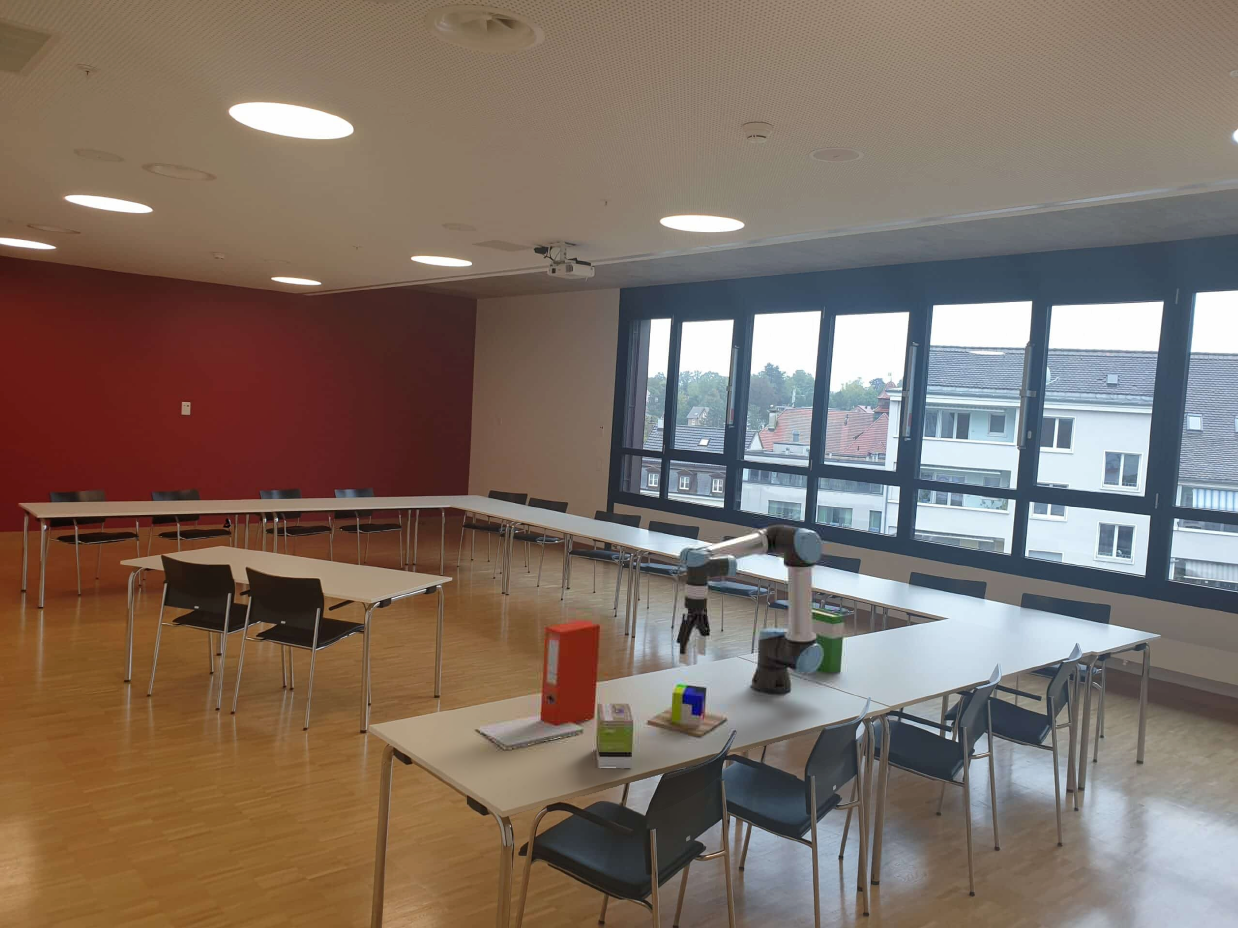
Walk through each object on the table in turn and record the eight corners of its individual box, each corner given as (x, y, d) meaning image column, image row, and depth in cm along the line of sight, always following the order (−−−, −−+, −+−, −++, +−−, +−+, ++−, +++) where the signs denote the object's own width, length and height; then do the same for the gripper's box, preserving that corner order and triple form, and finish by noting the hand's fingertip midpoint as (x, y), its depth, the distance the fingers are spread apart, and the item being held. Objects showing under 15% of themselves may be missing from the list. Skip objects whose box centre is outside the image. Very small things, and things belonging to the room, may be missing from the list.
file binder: (594, 718, 296) (600, 624, 294) (556, 729, 284) (561, 632, 282) (578, 711, 302) (583, 619, 300) (540, 722, 290) (545, 626, 288)
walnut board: (675, 707, 311) (675, 704, 311) (727, 720, 301) (727, 717, 301) (647, 722, 294) (647, 720, 294) (701, 737, 284) (701, 734, 284)
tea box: (594, 748, 270) (597, 701, 269) (627, 749, 270) (629, 702, 270) (597, 769, 255) (600, 719, 254) (632, 769, 255) (634, 719, 255)
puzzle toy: (700, 725, 292) (702, 696, 291) (670, 721, 294) (672, 692, 293) (704, 715, 301) (706, 687, 301) (675, 712, 304) (677, 683, 303)
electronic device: (506, 751, 265) (507, 745, 265) (474, 730, 280) (475, 724, 280) (584, 734, 282) (584, 728, 282) (550, 715, 298) (550, 709, 298)
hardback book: (795, 663, 376) (799, 608, 374) (806, 661, 381) (810, 606, 379) (829, 674, 363) (833, 617, 361) (840, 671, 367) (844, 615, 366)
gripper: (702, 589, 308) (699, 648, 309) (668, 600, 286) (664, 664, 288) (722, 592, 304) (718, 652, 305) (689, 604, 282) (685, 669, 284)
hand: (692, 658), depth 296 cm, fingers open, 13 cm apart
